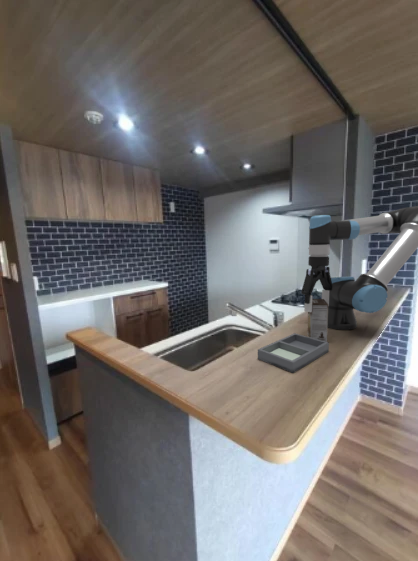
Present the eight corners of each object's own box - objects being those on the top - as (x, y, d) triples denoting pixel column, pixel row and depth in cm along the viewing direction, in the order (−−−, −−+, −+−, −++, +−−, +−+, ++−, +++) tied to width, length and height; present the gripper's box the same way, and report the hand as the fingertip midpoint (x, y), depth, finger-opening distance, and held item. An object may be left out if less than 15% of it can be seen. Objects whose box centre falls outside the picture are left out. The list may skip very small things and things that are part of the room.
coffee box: (306, 335, 113) (307, 298, 111) (322, 335, 112) (323, 298, 110) (310, 343, 104) (311, 303, 102) (327, 343, 103) (329, 304, 101)
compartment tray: (294, 341, 107) (294, 333, 106) (328, 351, 96) (328, 342, 95) (257, 358, 92) (257, 349, 92) (292, 373, 81) (293, 362, 81)
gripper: (325, 254, 114) (323, 301, 117) (292, 257, 98) (291, 312, 101) (342, 254, 108) (340, 304, 111) (311, 257, 92) (309, 316, 95)
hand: (316, 308), depth 106 cm, fingers open, 13 cm apart
